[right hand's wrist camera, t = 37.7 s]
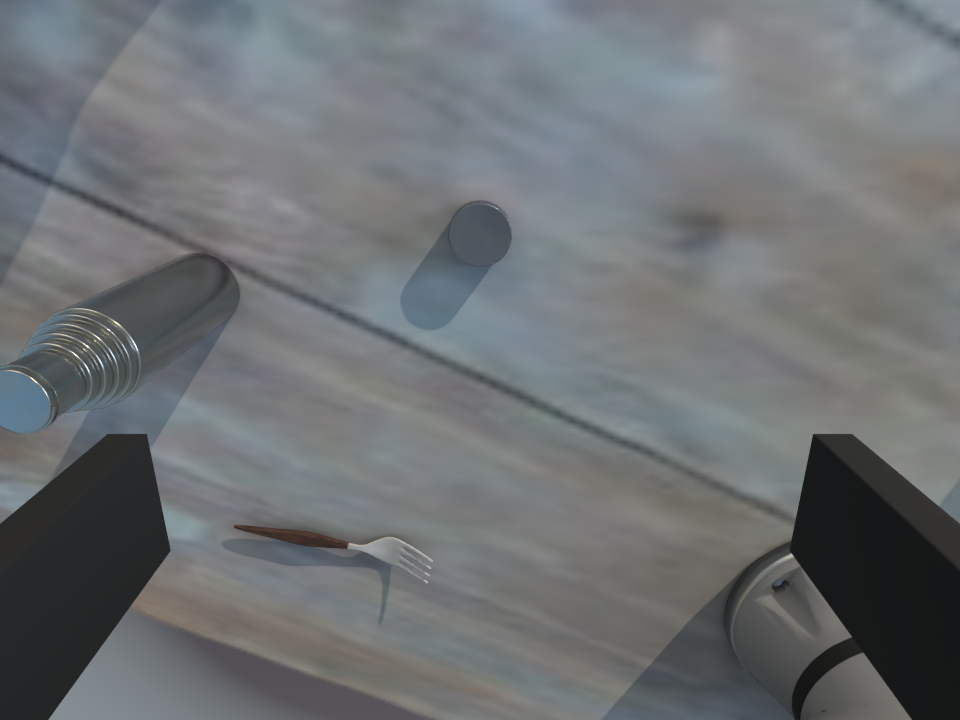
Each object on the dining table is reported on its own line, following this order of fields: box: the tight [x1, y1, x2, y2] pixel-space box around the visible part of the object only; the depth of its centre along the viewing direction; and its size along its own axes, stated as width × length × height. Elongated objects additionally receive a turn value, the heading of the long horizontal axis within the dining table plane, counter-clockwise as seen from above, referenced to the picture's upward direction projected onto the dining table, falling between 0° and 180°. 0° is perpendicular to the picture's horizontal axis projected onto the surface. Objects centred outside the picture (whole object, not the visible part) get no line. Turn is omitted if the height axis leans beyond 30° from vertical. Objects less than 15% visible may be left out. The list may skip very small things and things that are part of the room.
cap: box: [449, 201, 512, 267], centre depth 42 cm, size 4×4×2 cm
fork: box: [234, 525, 433, 583], centre depth 51 cm, size 3×16×2 cm, turn 78°
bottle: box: [0, 253, 239, 434], centre depth 36 cm, size 5×5×19 cm
